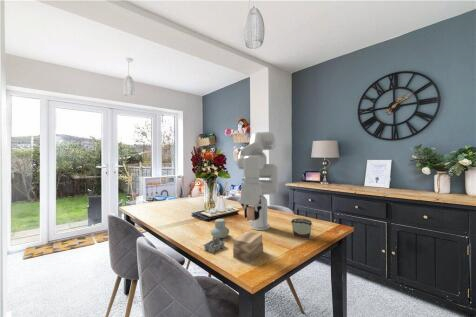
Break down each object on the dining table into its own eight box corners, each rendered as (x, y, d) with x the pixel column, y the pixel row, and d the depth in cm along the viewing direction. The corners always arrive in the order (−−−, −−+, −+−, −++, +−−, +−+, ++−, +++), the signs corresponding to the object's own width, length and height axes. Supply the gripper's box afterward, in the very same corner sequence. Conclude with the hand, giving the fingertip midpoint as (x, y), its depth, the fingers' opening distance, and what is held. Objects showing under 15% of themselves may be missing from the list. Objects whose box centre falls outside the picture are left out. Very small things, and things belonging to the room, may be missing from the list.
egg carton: (217, 243, 124) (217, 236, 124) (226, 247, 119) (226, 239, 119) (202, 249, 117) (201, 241, 117) (211, 253, 112) (211, 245, 111)
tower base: (233, 257, 107) (233, 248, 107) (248, 248, 118) (247, 239, 118) (249, 262, 102) (249, 253, 102) (263, 252, 113) (263, 243, 113)
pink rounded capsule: (244, 219, 109) (244, 207, 109) (250, 217, 113) (250, 205, 113) (253, 221, 106) (253, 208, 106) (258, 218, 111) (258, 206, 111)
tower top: (233, 248, 107) (233, 239, 107) (246, 239, 118) (246, 231, 118) (250, 252, 102) (249, 243, 102) (262, 243, 113) (262, 234, 113)
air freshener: (220, 241, 127) (220, 223, 127) (209, 238, 131) (208, 221, 131) (231, 235, 136) (230, 218, 136) (220, 232, 141) (219, 216, 141)
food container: (314, 236, 132) (314, 219, 132) (312, 240, 127) (312, 222, 126) (294, 233, 138) (293, 217, 138) (290, 236, 133) (290, 219, 133)
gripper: (232, 180, 112) (233, 217, 112) (263, 182, 102) (263, 223, 102) (241, 179, 118) (241, 214, 118) (270, 181, 108) (271, 219, 108)
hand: (251, 217), depth 110 cm, fingers closed on pink rounded capsule, 5 cm apart
